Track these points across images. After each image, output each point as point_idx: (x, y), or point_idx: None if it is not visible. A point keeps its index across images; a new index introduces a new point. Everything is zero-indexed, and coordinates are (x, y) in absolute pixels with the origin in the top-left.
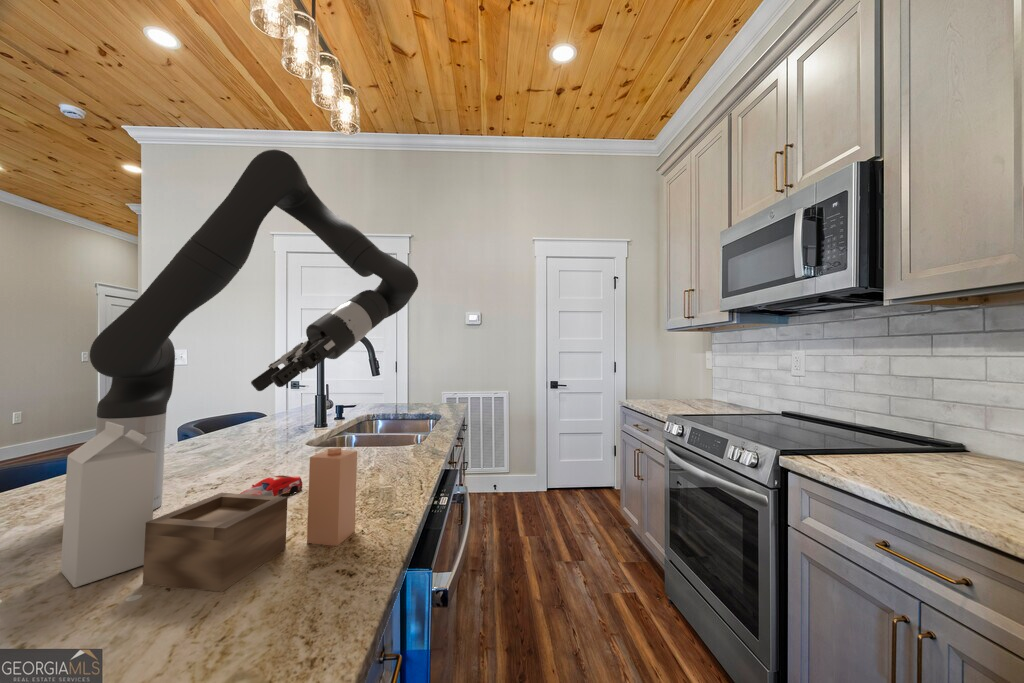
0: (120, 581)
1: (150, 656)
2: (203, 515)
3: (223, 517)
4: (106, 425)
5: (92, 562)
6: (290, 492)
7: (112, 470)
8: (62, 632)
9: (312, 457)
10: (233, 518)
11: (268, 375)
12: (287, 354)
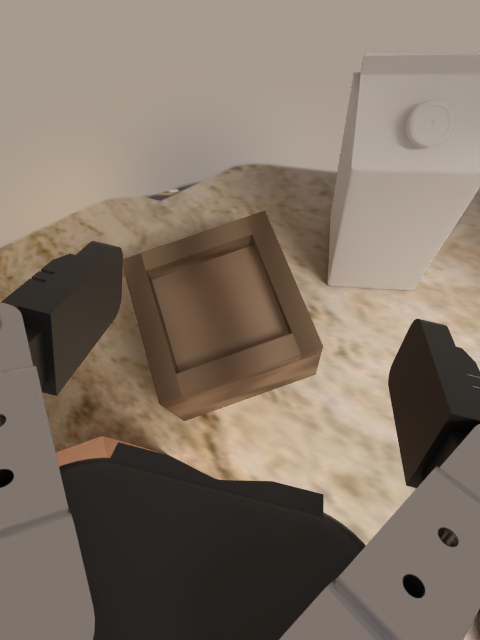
0: (304, 249)
1: (105, 217)
2: (273, 302)
3: (228, 315)
4: None
5: (332, 212)
6: None
7: (349, 126)
8: (228, 189)
9: (95, 439)
10: (149, 286)
11: (426, 406)
12: (389, 520)
